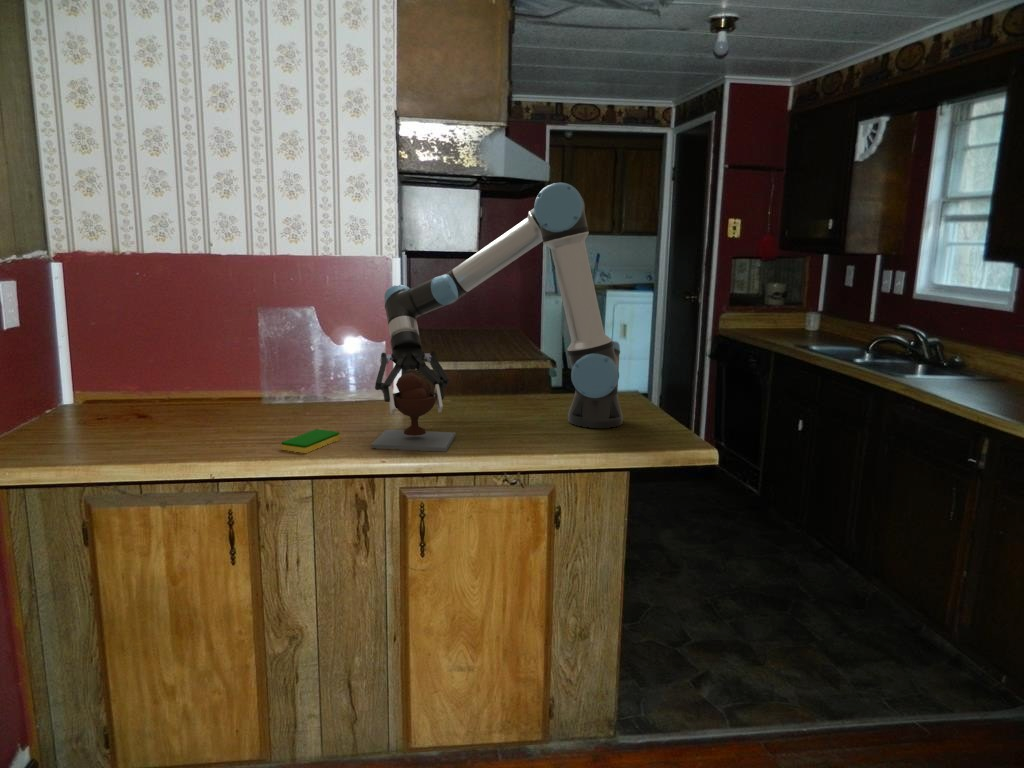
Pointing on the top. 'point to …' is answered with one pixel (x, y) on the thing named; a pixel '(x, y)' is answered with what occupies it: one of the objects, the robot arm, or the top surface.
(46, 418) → the top surface
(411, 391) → the ice cream bowl
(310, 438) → the dish sponge
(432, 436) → the mat
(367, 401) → the top surface
